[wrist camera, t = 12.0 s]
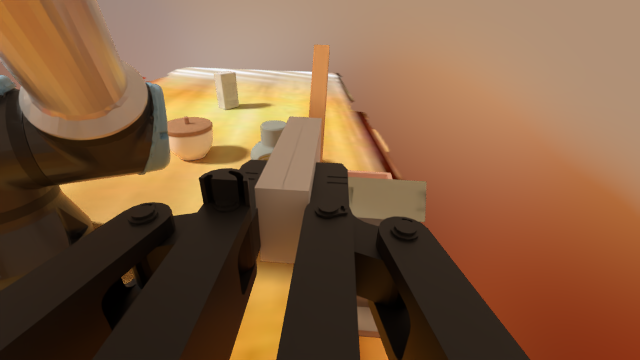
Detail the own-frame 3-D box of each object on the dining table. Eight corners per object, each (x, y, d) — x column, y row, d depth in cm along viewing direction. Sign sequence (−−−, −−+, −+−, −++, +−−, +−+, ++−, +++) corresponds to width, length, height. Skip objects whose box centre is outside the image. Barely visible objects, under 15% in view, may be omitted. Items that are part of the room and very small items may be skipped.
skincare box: (232, 104, 111) (228, 70, 105) (239, 106, 108) (236, 72, 103) (217, 107, 107) (213, 72, 101) (225, 110, 104) (220, 74, 98)
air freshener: (248, 174, 64) (244, 130, 60) (254, 158, 72) (251, 117, 67) (299, 175, 65) (299, 131, 60) (300, 159, 72) (300, 119, 67)
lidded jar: (223, 148, 76) (218, 112, 71) (203, 167, 67) (196, 127, 62) (183, 144, 77) (176, 108, 72) (158, 162, 68) (148, 123, 63)
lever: (434, 264, 22) (442, 24, 23) (294, 253, 22) (311, 18, 24) (385, 237, 41) (391, 107, 43) (311, 232, 42) (320, 103, 43)
